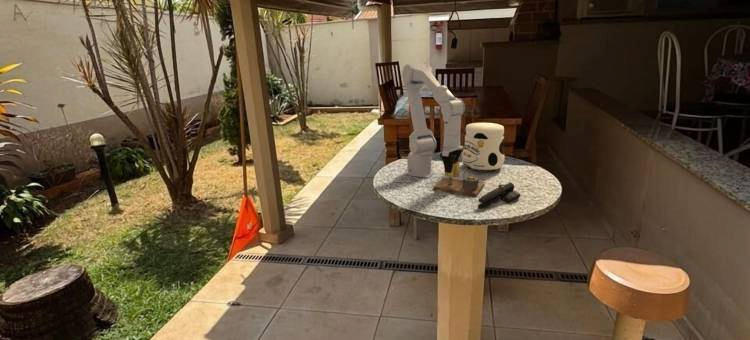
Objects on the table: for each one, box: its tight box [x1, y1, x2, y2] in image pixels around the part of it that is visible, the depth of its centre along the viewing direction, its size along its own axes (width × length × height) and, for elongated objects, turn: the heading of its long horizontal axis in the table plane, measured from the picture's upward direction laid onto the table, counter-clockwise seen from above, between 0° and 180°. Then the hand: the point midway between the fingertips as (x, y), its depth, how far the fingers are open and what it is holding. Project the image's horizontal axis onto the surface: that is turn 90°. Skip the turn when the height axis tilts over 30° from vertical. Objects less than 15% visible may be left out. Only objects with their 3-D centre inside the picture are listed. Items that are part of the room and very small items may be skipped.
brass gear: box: [443, 161, 461, 178], centre depth 141 cm, size 5×5×5 cm
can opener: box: [477, 182, 522, 210], centre depth 129 cm, size 18×7×6 cm, turn 122°
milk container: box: [461, 122, 505, 172], centre depth 162 cm, size 17×17×18 cm
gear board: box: [432, 176, 485, 197], centre depth 142 cm, size 16×11×5 cm
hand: (450, 170), depth 141 cm, fingers closed on brass gear, 5 cm apart
